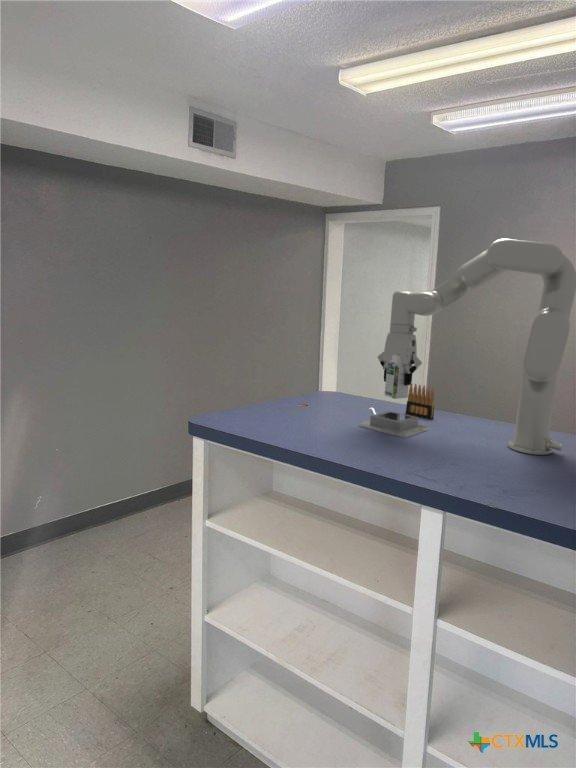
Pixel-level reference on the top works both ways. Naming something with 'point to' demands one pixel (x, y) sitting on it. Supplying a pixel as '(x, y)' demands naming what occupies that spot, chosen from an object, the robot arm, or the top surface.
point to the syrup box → (396, 379)
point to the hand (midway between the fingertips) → (397, 382)
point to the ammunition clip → (420, 402)
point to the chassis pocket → (394, 424)
